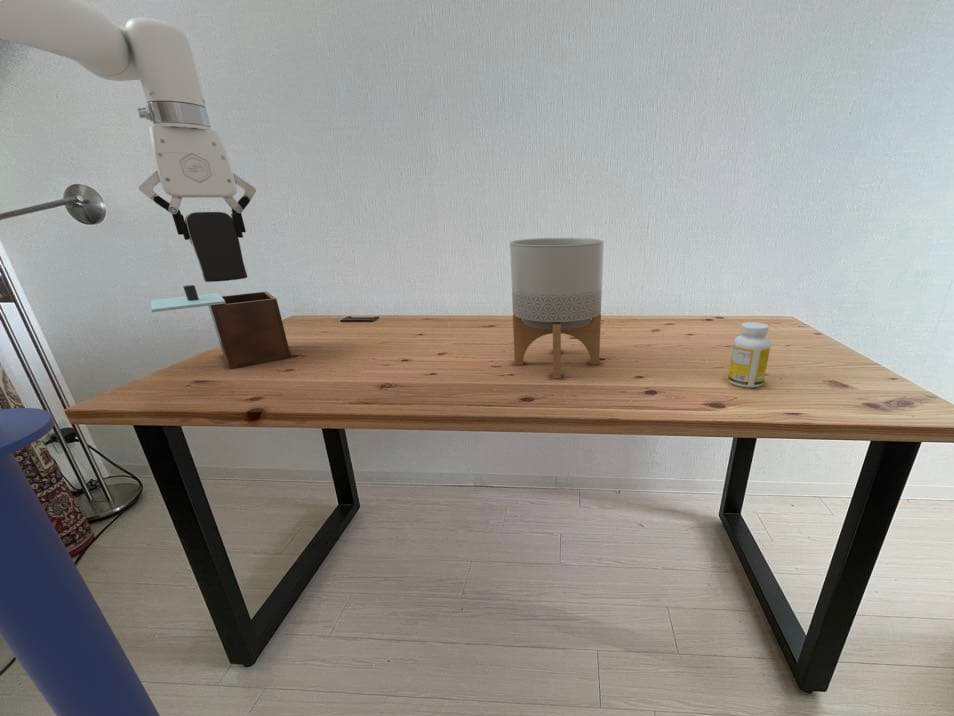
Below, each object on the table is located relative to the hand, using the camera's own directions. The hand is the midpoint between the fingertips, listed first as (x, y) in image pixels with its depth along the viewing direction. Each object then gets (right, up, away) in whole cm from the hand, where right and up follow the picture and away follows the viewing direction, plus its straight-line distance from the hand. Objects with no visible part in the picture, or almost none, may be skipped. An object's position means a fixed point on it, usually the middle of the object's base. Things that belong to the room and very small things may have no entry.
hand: (214, 237), depth 80 cm
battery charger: (0, -7, +3) cm, 7 cm away
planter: (+61, -20, +23) cm, 68 cm away
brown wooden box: (-12, -18, +31) cm, 37 cm away
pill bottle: (+98, -25, +11) cm, 101 cm away
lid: (-19, -7, +19) cm, 28 cm away
